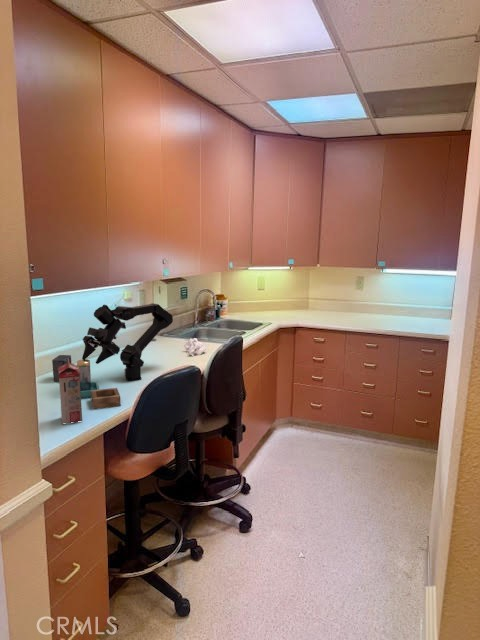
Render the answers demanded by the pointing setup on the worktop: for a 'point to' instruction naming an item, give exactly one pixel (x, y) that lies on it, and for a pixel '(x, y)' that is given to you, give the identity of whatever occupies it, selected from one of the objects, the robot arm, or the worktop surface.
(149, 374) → the worktop surface
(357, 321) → the worktop surface
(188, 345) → the white coral
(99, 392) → the brown square frame
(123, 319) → the robot arm
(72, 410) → the juice carton
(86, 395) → the teal tray
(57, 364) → the box
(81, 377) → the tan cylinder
